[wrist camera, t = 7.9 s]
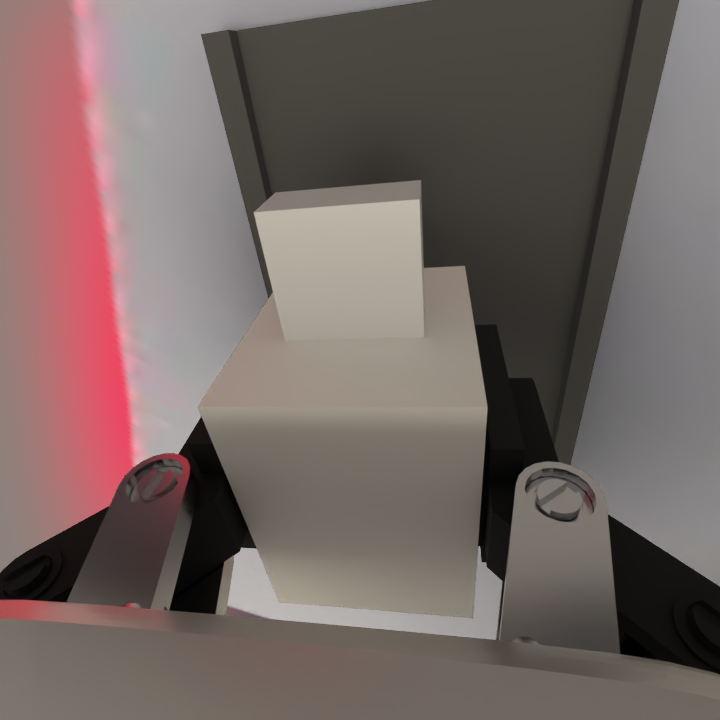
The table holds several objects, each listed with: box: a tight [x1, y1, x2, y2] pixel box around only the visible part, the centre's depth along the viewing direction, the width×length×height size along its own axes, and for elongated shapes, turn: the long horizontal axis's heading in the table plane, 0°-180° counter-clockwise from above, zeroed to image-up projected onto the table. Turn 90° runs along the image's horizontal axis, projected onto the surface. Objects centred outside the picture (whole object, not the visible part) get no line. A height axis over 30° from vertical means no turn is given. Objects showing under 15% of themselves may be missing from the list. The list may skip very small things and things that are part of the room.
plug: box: [198, 180, 488, 618], centre depth 11 cm, size 12×4×5 cm, turn 7°
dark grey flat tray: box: [201, 0, 679, 465], centre depth 17 cm, size 20×12×1 cm, turn 7°
